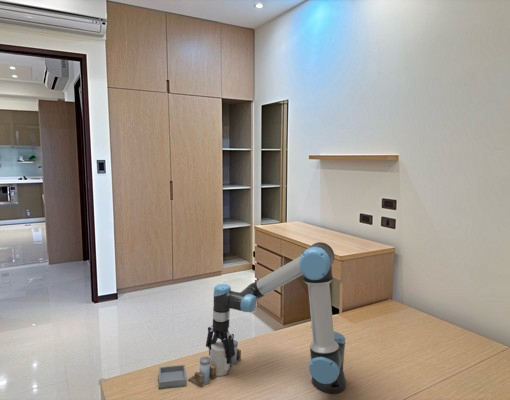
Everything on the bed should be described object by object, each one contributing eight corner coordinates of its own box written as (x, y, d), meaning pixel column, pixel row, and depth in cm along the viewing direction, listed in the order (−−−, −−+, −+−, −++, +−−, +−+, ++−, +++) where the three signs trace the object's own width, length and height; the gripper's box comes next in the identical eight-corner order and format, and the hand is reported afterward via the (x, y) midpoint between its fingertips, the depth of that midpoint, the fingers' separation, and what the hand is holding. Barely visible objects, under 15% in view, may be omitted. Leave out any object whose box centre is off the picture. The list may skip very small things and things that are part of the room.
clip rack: (240, 359, 172) (241, 349, 171) (200, 387, 149) (201, 375, 148) (228, 354, 176) (229, 344, 175) (188, 380, 153) (188, 369, 152)
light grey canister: (211, 376, 156) (212, 351, 155) (209, 366, 164) (210, 342, 163) (229, 374, 158) (230, 349, 157) (226, 364, 166) (227, 340, 165)
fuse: (238, 361, 170) (239, 342, 169) (232, 365, 166) (233, 345, 165) (231, 358, 172) (232, 339, 171) (225, 362, 169) (226, 342, 168)
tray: (184, 370, 160) (184, 364, 160) (186, 386, 149) (186, 379, 149) (159, 373, 157) (159, 367, 157) (158, 389, 146) (159, 382, 146)
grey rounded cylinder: (211, 380, 154) (212, 359, 153) (204, 385, 150) (205, 363, 149) (204, 376, 157) (204, 355, 156) (196, 381, 153) (197, 359, 152)
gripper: (244, 322, 156) (242, 370, 158) (209, 309, 168) (208, 354, 170) (234, 328, 150) (232, 378, 152) (198, 314, 162) (197, 361, 164)
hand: (219, 365), depth 161 cm, fingers closed on light grey canister, 8 cm apart
